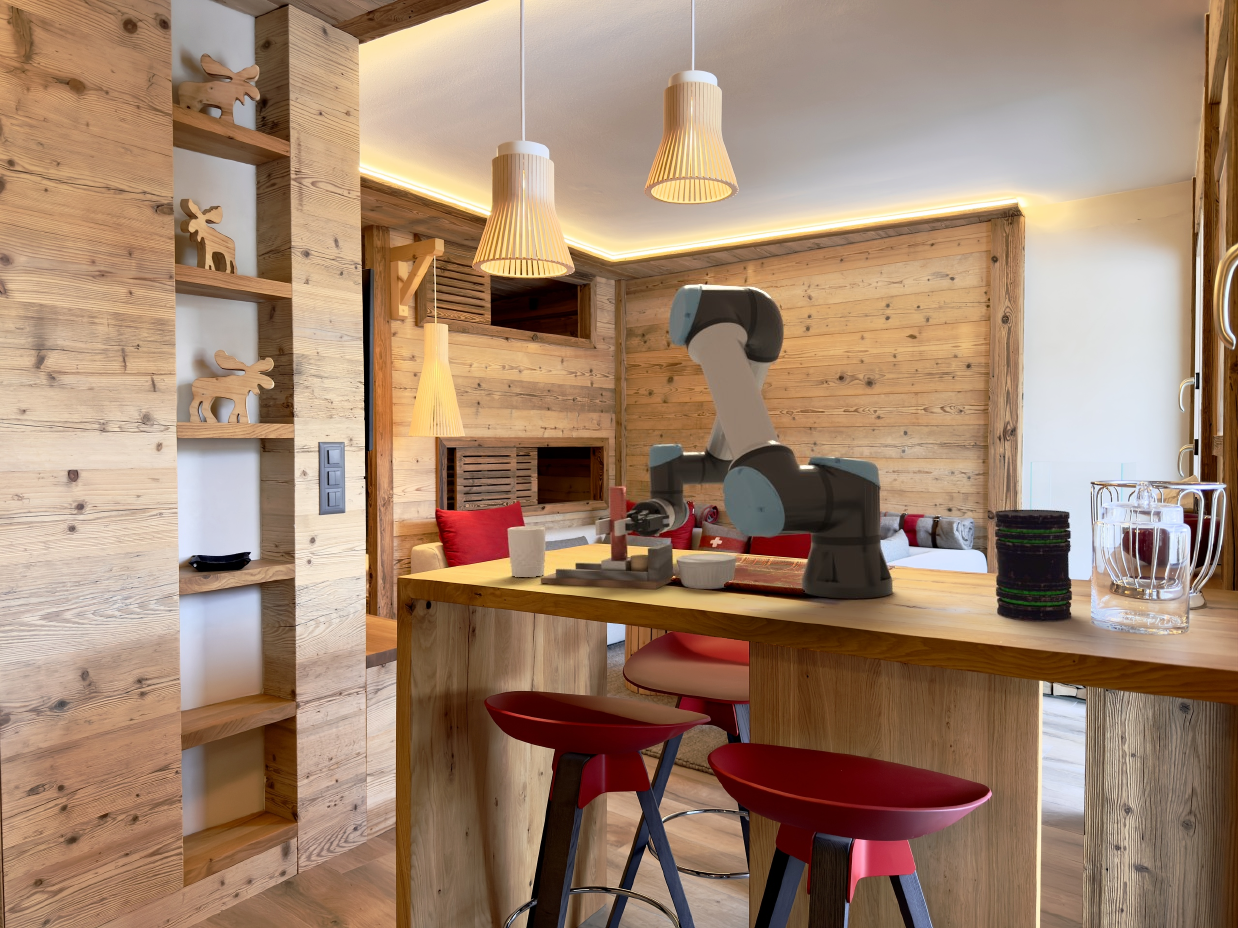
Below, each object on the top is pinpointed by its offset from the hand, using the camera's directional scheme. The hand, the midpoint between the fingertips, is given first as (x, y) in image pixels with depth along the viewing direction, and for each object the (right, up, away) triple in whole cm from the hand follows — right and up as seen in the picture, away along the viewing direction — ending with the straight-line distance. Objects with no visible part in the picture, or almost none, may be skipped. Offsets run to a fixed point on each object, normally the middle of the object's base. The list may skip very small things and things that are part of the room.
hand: (607, 528), depth 151 cm
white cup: (-17, -11, +17) cm, 26 cm away
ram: (+2, -9, +5) cm, 11 cm away
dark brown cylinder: (+63, -10, -34) cm, 72 cm away
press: (0, -11, +6) cm, 13 cm away
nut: (+7, -10, +3) cm, 12 cm away
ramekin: (+19, -11, 0) cm, 22 cm away
